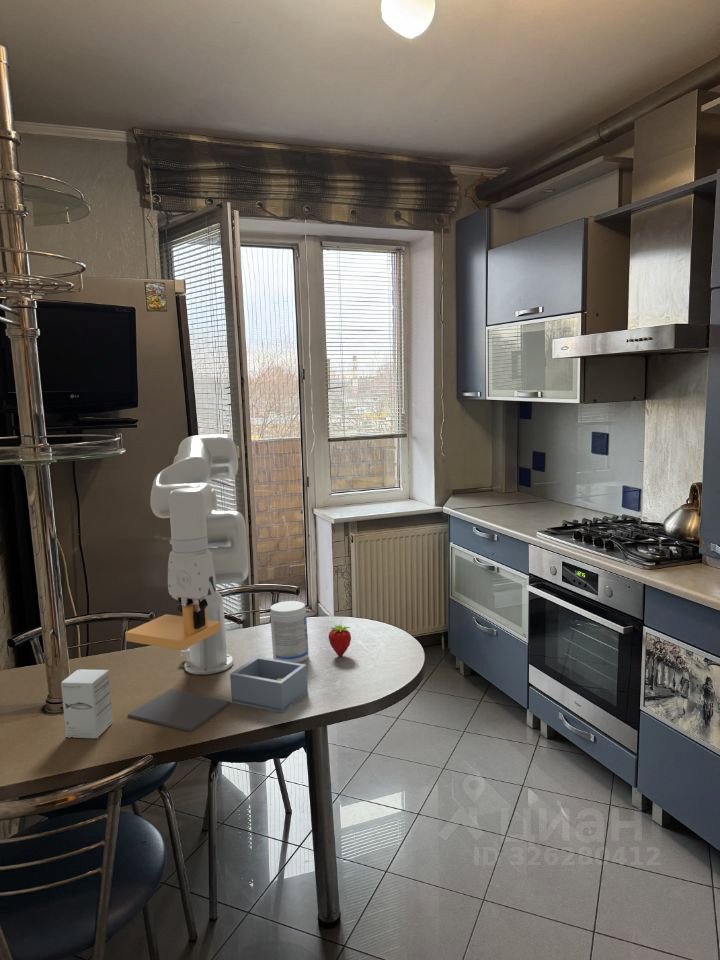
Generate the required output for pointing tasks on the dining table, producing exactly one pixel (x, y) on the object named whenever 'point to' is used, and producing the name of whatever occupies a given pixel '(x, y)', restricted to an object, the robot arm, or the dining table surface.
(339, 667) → the dining table surface
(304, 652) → the supplement tub
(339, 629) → the strawberry
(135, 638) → the lid
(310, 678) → the dining table surface
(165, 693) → the mat
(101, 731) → the supplement box
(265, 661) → the parts tub
